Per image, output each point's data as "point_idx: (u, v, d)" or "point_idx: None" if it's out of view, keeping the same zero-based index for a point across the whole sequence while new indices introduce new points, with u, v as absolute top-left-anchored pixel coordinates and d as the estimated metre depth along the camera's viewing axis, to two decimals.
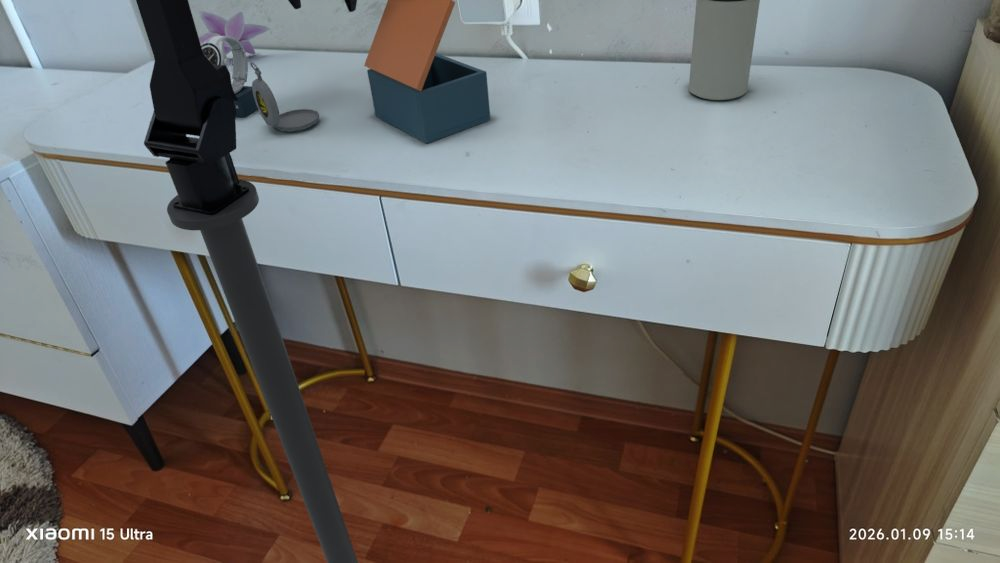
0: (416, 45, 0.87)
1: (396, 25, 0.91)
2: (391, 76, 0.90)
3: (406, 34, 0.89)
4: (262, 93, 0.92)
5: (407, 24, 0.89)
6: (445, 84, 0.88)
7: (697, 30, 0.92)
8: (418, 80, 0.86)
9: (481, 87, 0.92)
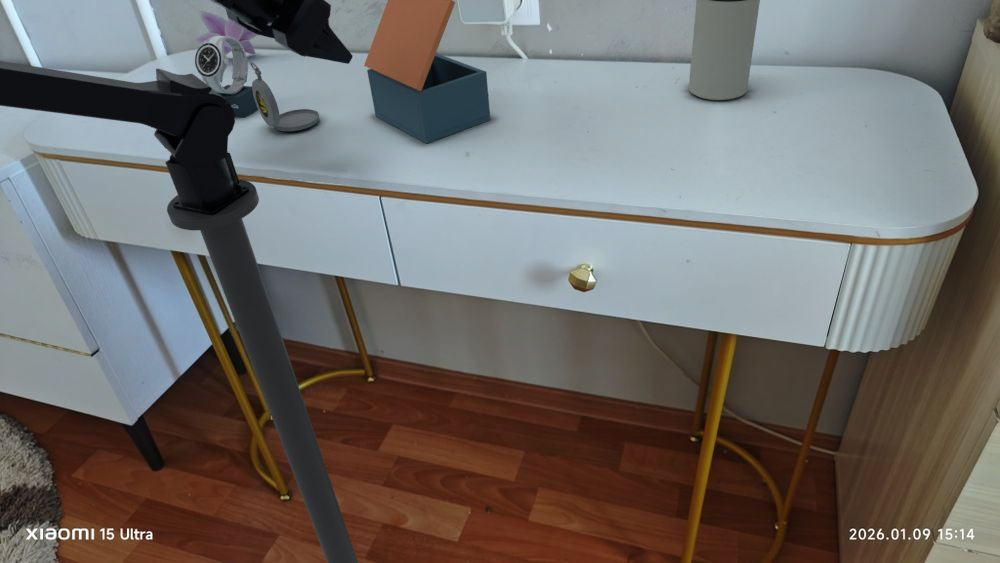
0: (416, 45, 0.87)
1: (396, 25, 0.91)
2: (391, 76, 0.90)
3: (406, 34, 0.89)
4: (262, 93, 0.92)
5: (407, 24, 0.89)
6: (445, 84, 0.88)
7: (697, 30, 0.92)
8: (418, 80, 0.86)
9: (481, 87, 0.92)
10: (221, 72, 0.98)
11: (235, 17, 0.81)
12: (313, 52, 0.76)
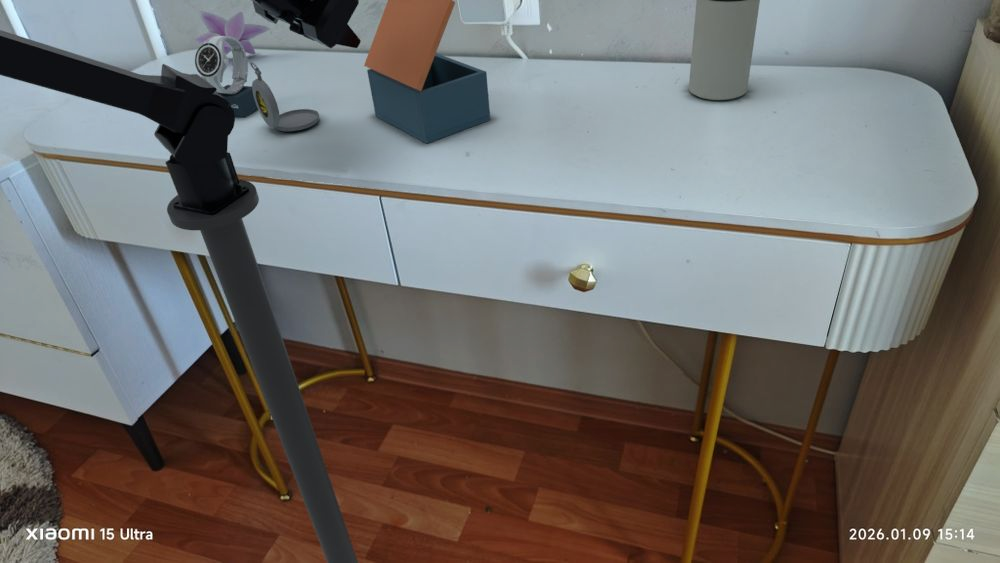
0: (416, 45, 0.87)
1: (396, 25, 0.91)
2: (391, 76, 0.90)
3: (406, 34, 0.89)
4: (262, 93, 0.92)
5: (407, 24, 0.89)
6: (445, 84, 0.88)
7: (697, 30, 0.92)
8: (418, 80, 0.86)
9: (481, 87, 0.92)
10: (221, 72, 0.98)
11: (263, 11, 0.83)
12: None
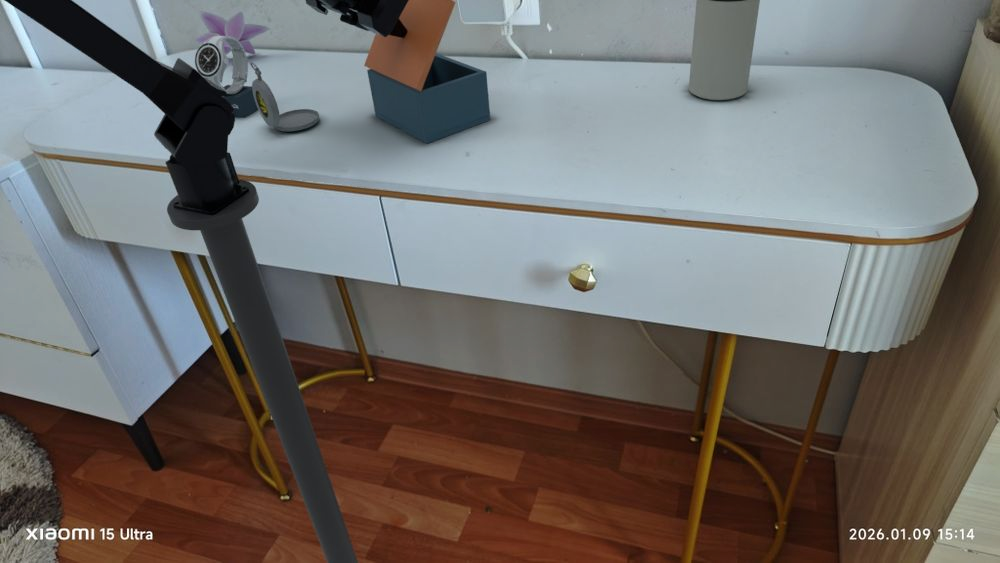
0: (416, 45, 0.87)
1: None
2: (391, 76, 0.90)
3: (406, 34, 0.89)
4: (262, 93, 0.92)
5: (407, 24, 0.89)
6: (445, 84, 0.88)
7: (697, 30, 0.92)
8: (418, 80, 0.86)
9: (481, 87, 0.92)
10: (221, 72, 0.98)
11: (314, 2, 0.86)
12: None
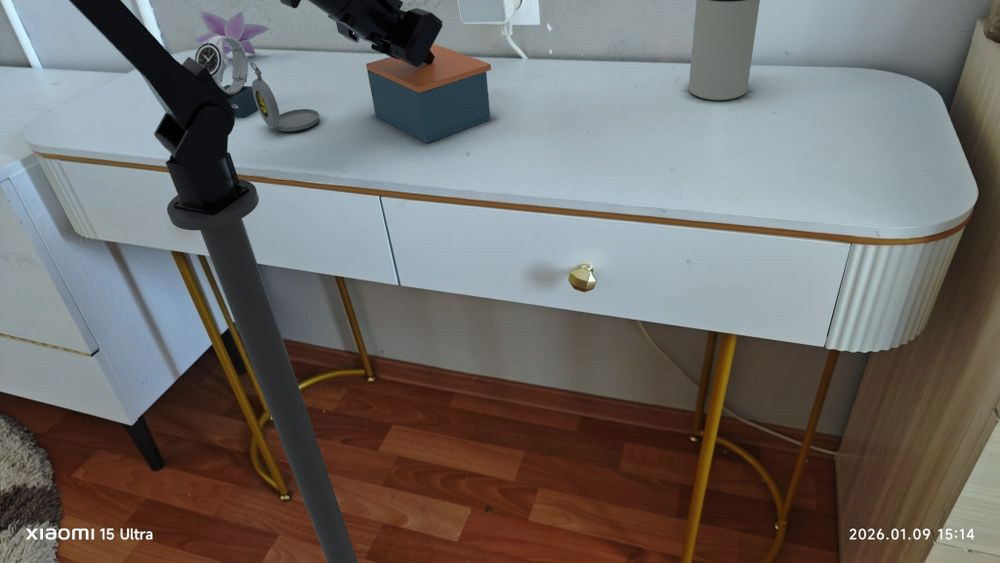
0: (436, 70, 0.90)
1: None
2: (394, 75, 0.90)
3: (429, 64, 0.93)
4: (262, 93, 0.92)
5: (434, 61, 0.94)
6: None
7: (697, 30, 0.92)
8: (424, 84, 0.87)
9: (481, 87, 0.92)
10: (221, 72, 0.98)
11: (347, 32, 0.90)
12: None
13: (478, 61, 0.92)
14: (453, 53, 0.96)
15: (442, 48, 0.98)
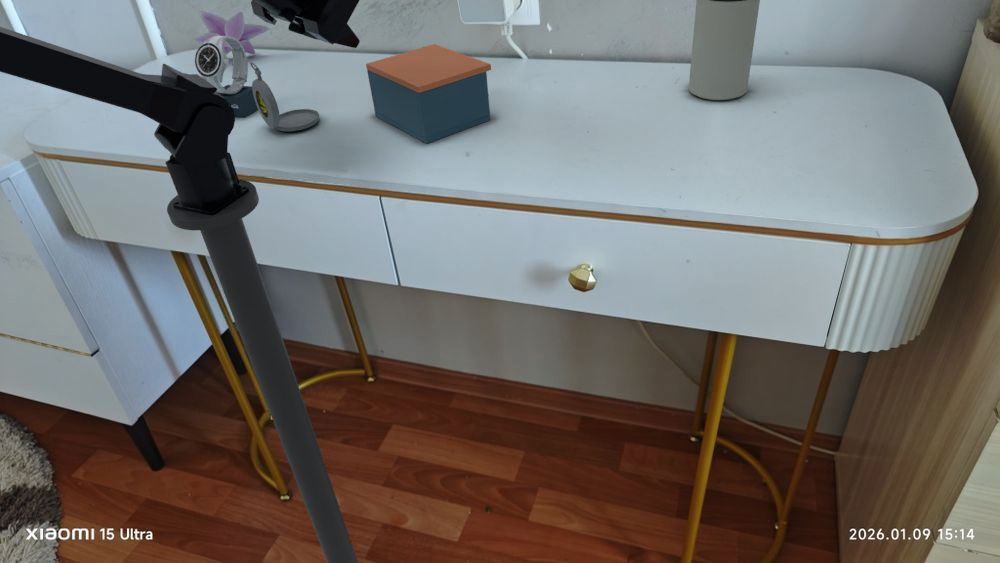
0: (436, 70, 0.90)
1: (421, 58, 0.95)
2: (394, 75, 0.90)
3: (429, 64, 0.93)
4: (262, 93, 0.92)
5: (434, 61, 0.94)
6: None
7: (697, 30, 0.92)
8: (424, 84, 0.87)
9: (481, 87, 0.92)
10: (221, 72, 0.98)
11: (261, 11, 0.83)
12: None
13: (478, 61, 0.92)
14: (453, 53, 0.96)
15: (442, 48, 0.98)
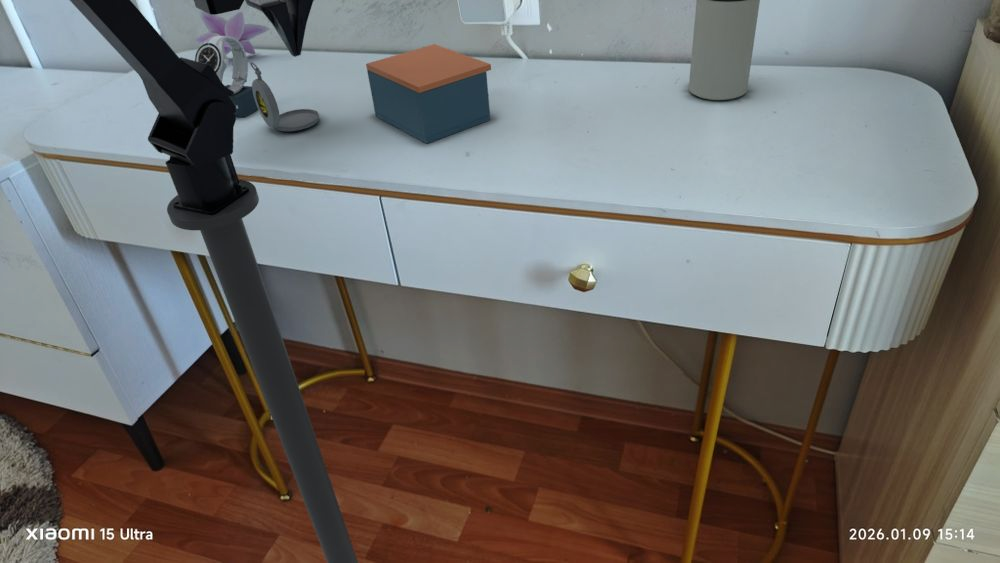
0: (436, 70, 0.90)
1: (421, 58, 0.95)
2: (394, 75, 0.90)
3: (429, 64, 0.93)
4: (262, 93, 0.92)
5: (434, 61, 0.94)
6: None
7: (697, 30, 0.92)
8: (424, 84, 0.87)
9: (481, 87, 0.92)
10: (221, 72, 0.98)
11: None
12: None
13: (478, 61, 0.92)
14: (453, 53, 0.96)
15: (442, 48, 0.98)
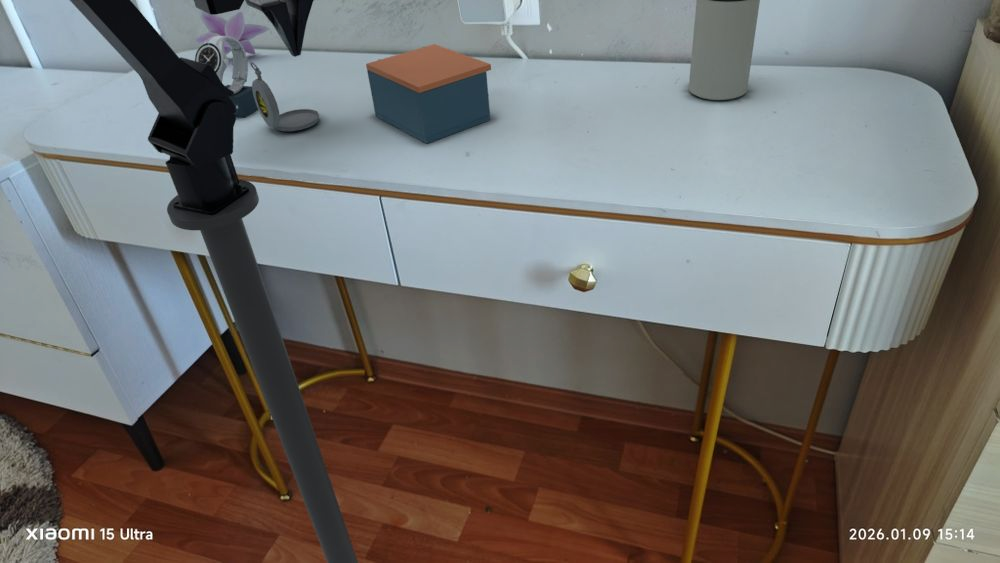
0: (436, 70, 0.90)
1: (421, 58, 0.95)
2: (394, 75, 0.90)
3: (429, 64, 0.93)
4: (262, 93, 0.92)
5: (434, 61, 0.94)
6: None
7: (697, 30, 0.92)
8: (424, 84, 0.87)
9: (481, 87, 0.92)
10: (221, 72, 0.98)
11: None
12: None
13: (478, 61, 0.92)
14: (453, 53, 0.96)
15: (442, 48, 0.98)
